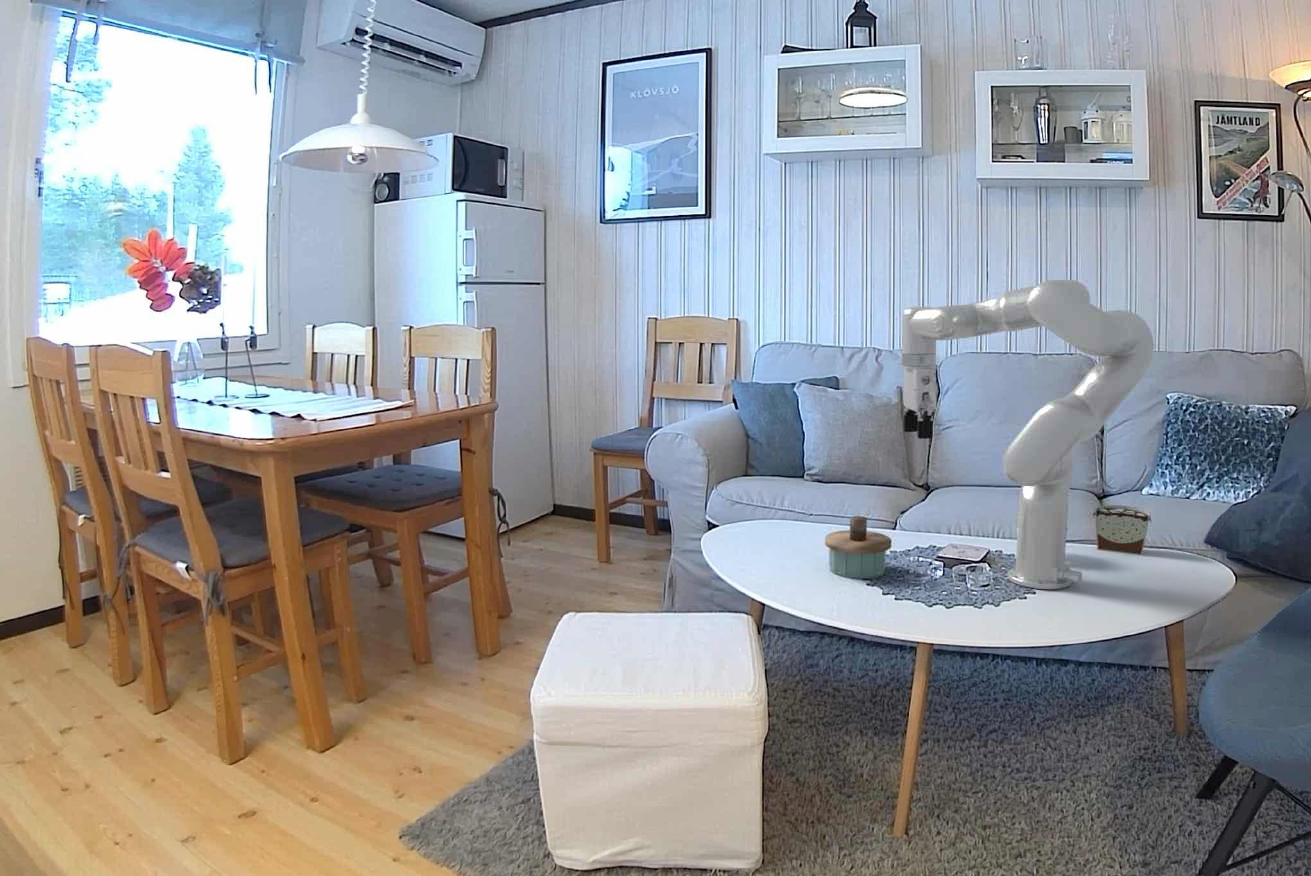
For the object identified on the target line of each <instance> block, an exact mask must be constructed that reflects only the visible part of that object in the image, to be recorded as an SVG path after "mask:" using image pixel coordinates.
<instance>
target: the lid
mask: <svg viewBox="0 0 1311 876" xmlns="http://www.w3.org/2000/svg"><path fill="white" fill-rule="evenodd" d="M867 523H868V518H867V517H866V516H862V515H853V516H850V518H849V529H848V530H839V531H834V532H830V533H828V534H827V535H825V537H824V539H825V540H824V544H825V547H827V548H829V549H830V548H831V549H833V550H836V551H840V552H845V553H854V554H872V553H879V552H884V551H886V552H887V551H888V550H890V549H891V548H892V538H891V537H889V536H888V535H886V534H883V533H881V532H875V531H870V530H867V528H868V527H867V526H868V525H867Z"/></svg>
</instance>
